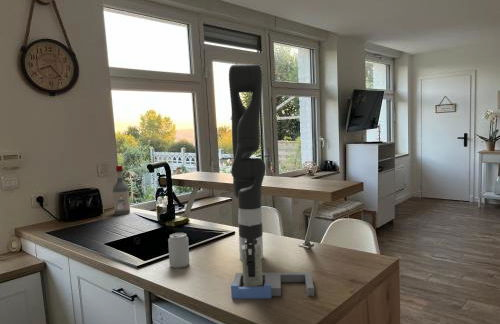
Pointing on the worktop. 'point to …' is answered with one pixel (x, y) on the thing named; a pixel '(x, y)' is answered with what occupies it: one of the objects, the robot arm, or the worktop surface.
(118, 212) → the liquor
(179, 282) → the worktop surface
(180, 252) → the can
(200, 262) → the worktop surface
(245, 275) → the skincare box
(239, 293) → the rail
